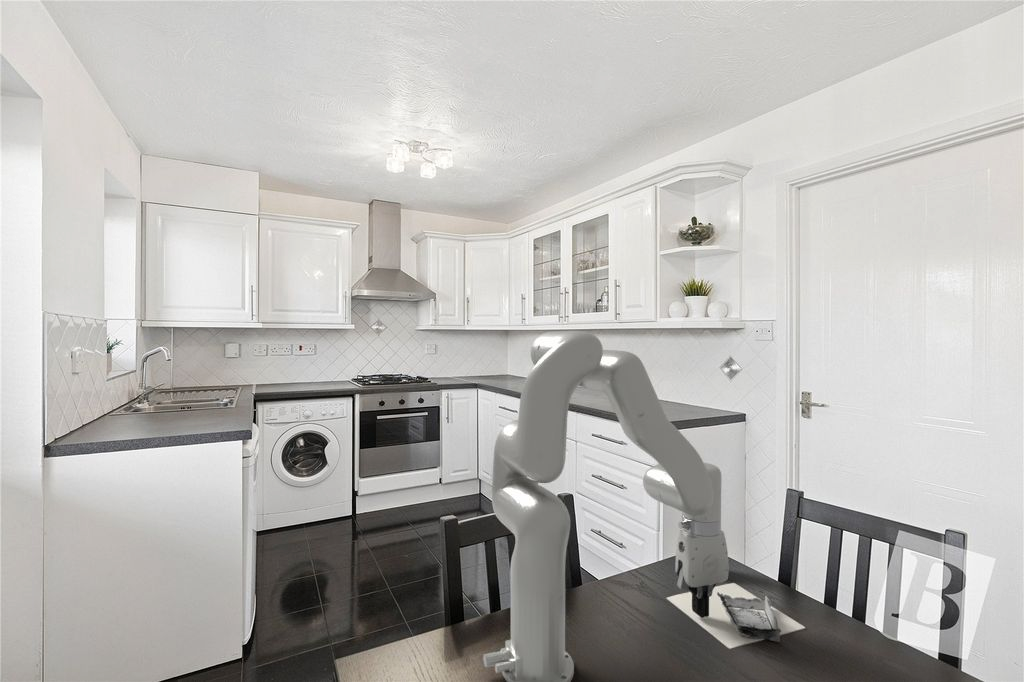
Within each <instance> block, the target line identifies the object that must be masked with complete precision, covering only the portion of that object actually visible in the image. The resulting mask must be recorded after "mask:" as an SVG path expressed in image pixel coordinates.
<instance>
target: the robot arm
mask: <svg viewBox="0 0 1024 682" xmlns="http://www.w3.org/2000/svg"><path fill="white" fill-rule="evenodd" d="M603 348H604V347H603V345H602V342H601V340H600V339H599V338H598V337H597V336H596V335H595V334H592V333H590V332H588V331H583V330H564V331H563V330H561V331H560V330H557V331H556V330H555V331H547V332H544V333H541V334H540V335H539V336H537V337H536V338H535V339H534V341H533V343H532V344H531V348H530V358H531V359H530V360H531V362H532V364H533V367H532V369H531V370H530V371H529V372H528V374H527V377H526V379H525V381H524V382H523V386H522V388H521V393H520V399H519V408H518V409H519V410H518V418H517V419H514V420H512V421H510V422H508V423H506V424H505V425H504V426H503V427H502V428H501V430H500V431H499V433H498V434H497V438H496V440H495V443H494V448H493V449H494V451H493V459H492V460H493V462H492V482H491V483H492V484H491V502H492V503H491V504H492V510H493V513H494V515H495V517H496V518H497V520H499V521H500V522H501V524H502V525H503V526H505V528H506V529H508V530H509V531H510V532H511V533H512V534H513V535H514V537H515V542H514V543H515V544H514V548H513V552H512V555H511V560H510V569H509V571H510V572H509V574H510V576H509V577H510V578H509V579H510V639H508V640H505V643H504V644H505V647H502V648H500V651H493V652H488V653H483V656H482V658H483V664H484V667H485V668H489V667H494V670H495V673H496V674H499V673H502V676H503V678H504V679H505V681H506V682H571V681H572V680H573V678H574V674H575V665H574V664H575V663H574V660H573V659H572V657H571V655H570V654H569V653H568V652H567V651H566V556H567V546H568V542H569V537H570V530H571V517H570V516H571V515H570V513H569V510H568V508H567V506H566V505H565V503H564V502H563V501H562V500H561V498H559V497H558V496H557V495H556V494H555V493H554V492H552V491H551V490H549V489H547V488H545V487H543V486H542V485H539V484H549V483H550V484H551V483H552V482H554V481H556V480H558V478H559V477H560V476H561V475H562V473H563V471H564V468H565V464H566V457H567V455H566V453H567V433H568V416H569V415H568V413H569V406H570V401H571V399H572V396H573V394H574V392H575V391H576V389H577V388H578V387H579V388H583V389H587V390H591V391H594V392H600V393H605V395H606V396H607V398H608V400H609V403H610V404H611V406H612V409H613V411H614V413H615V415H616V418H617V420H618V422H619V423H620V426H621V429H622V431H623V433H624V434H625V436H626V437H627V438H628V439H629V440H630V441H631V442H632V443H633V444H634V445H635V446H637V447H638V448H639V449H640V450H642V451H643V452H645V453H646V454H648V456H650V457H651V458H652V459H654V460H655V461H656V462H657V463H658V464H654V465H653V466H651V467H650V468H648V469H647V470H646V471H645V473H644V475H643V479H642V485H643V488H644V490H645V492H646V494H647V495H649V496H650V497H651V498H652V499H653V500H655V501H657V502H659V503H662V504H664V505H665V506H669V507H671V508H674V509H676V510H678V511H679V512H681V521H679V522H678V523H677V524H678V525H677V526H678V528H679V529H680V530H679V532H678V536H677V541H676V542H677V543H676V549H675V550H676V551H675V564H674V565H675V570H674V571H675V576H676V578H678V579H677V582H676V586H677V587H678V588H679V589H680V590H682V591H688V592H691V593H692V610H693V612H695V613H696V614H697V615H699V616H700V617H701V618H704V617H708V616H709V597H710V596H712V592H713V589H714V587H716V586H718V585H719V584H721V583H724V582H725V581H727V580H728V578H729V572H730V571H729V569H730V568H729V554H728V545H727V541H726V539H727V538H726V536H725V532H724V531H723V530H722V471H721V470H720V468H719V467H718V466H716V465H715V464H712V463H707V462H704V461H703V458H702V457H701V455H700V453H699V452H698V451H697V449H695V447H694V446H693V445H692V444H691V442H690V441H689V440H688V439H687V438H686V437H685V436H684V435H683V434H682V432H680V430H679V429H678V428H677V427H676V426H675V425H674V423H672V422H671V420H669V418H668V417H667V416H666V413H665V411H664V409H663V406H662V404H661V402H660V399H659V397H658V396H657V393H656V390H655V388H654V386H653V383H652V381H651V379H650V377H649V374H648V372H647V370H646V368H645V366H644V363H643V362H642V360H641V359H640V358H639V357H638V356H637V355H636V354H635V353H633V352H630V351H625V350H616V349H615V350H612V349H603Z"/></svg>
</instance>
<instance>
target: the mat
mask: <svg viewBox="0 0 1024 682" xmlns="http://www.w3.org/2000/svg"><path fill="white" fill-rule="evenodd" d="M717 592H719V594H723V595H729V596H730V597H731V598H733V599H734V598H735V597H742V598H745V599H753V598H758V599H760V598H759V597H757V596H756V595H754V594H753V593H751V592H750V591H748V590H746V589H744V587H742V586H740V585H738V584H737V583H735V582H732V583H725V584H722V585H721V584H720V585H716V586H715V587H714V589H713V592H712V596H710V597H709V616H708V617H704V618H701V617H700V616H699V615H697V614H696V613H695V612H693V610H692V593H691V592H690V591H688V592H683V593H679V594H675V595H672V596H668V597H666V599H667V600H668V601H669V602H670V603H672V604H673V605H674V606H675V607H676V608H677V609H679V610H680V611H681V612H683V613H684V614H685V615H687V616H688V617H689V618H690V619H692V620H693V621H694V622H695V623H696V624H697V625H699V626H701V628H703V629H704V630H706V631H707V632H708V633H709V634H710V635H711V636H713V637H714V638H715V639H716V640H718V641H719V643H720V642H721V643H722V645H724V646H725V647H726V648H728V649H729V650H730V649H734V648H735V649H736V648H737V647H738V648H739V647H742V646H745V645H749V644H752V643H757V642H759V641H760V642H761V641H763V640H765V639H750V638H747V637H744V636H742V635H740V634H739V633H738V632H737V630H736V629H735V627H734V626H733V625H732V624H731V622H730V618H729V617H728V616H727V614H726V612H725V609H724V607H723V606H722V601H721V599H720V597H718V595H717ZM728 608H729V609H731V607H728ZM733 609H736V610H738V609H740V608H733ZM771 609H773V614H774V615H775V617H776V619H777V625H778V629H779V628H780V630H781V632H780V636H783V635H786V634H790V633H794V632H798V631H802V630H805V629H806V627H805V626H804V625H802V624H801V623H800V622H797V621H796V620H794V619H793V618H791V617H789V616H788V615H786V614H785V613H783V612H781V611H779V609H777V608H775V607H774V606H772V605H771ZM752 610H754V611H755V612H753V613H756V612H757V611H759V612H763V613H765V611H763V610H755V609H752ZM764 617H766V616H764ZM734 620H735V619H734ZM769 627H770V628H771V626H770V624H769Z"/></svg>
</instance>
